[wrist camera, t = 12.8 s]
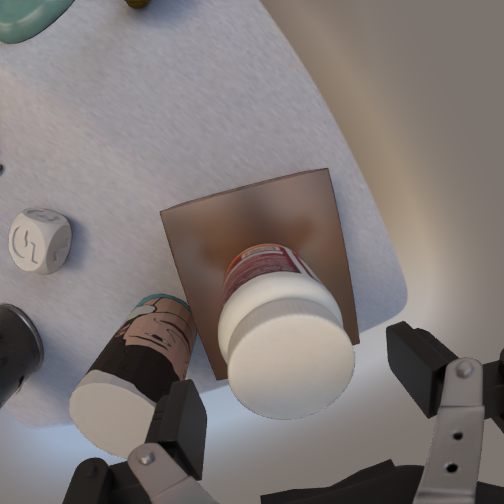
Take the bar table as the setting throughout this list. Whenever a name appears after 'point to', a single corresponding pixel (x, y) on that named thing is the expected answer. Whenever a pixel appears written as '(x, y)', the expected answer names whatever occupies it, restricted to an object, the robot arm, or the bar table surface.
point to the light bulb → (136, 3)
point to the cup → (134, 374)
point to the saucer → (28, 17)
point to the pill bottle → (282, 335)
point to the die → (39, 240)
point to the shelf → (255, 233)
